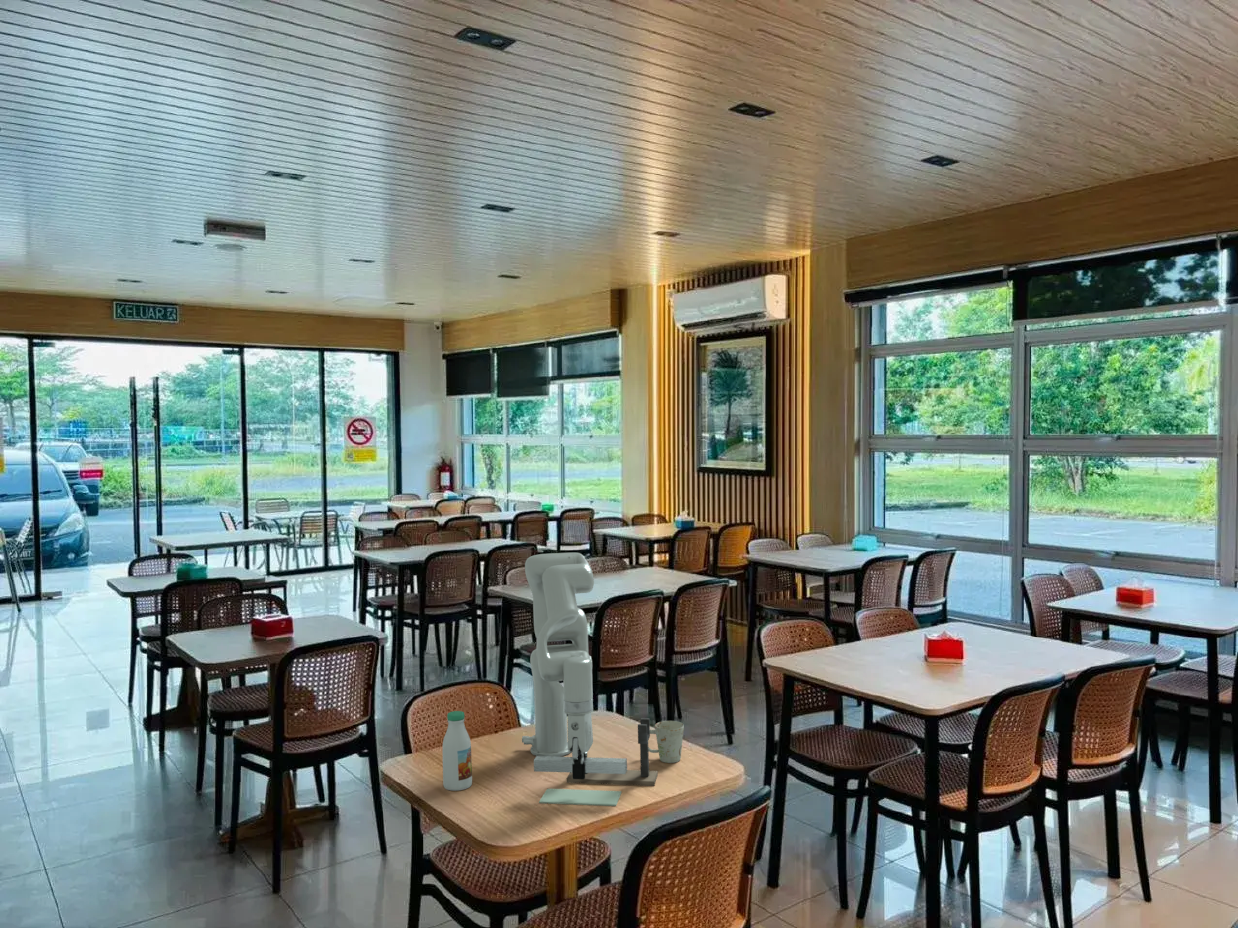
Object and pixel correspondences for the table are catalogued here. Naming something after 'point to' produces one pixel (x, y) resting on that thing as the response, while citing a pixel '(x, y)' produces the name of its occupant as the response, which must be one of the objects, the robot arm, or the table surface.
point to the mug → (668, 740)
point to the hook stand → (631, 776)
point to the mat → (581, 797)
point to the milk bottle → (456, 754)
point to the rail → (590, 763)
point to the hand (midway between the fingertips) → (580, 775)
